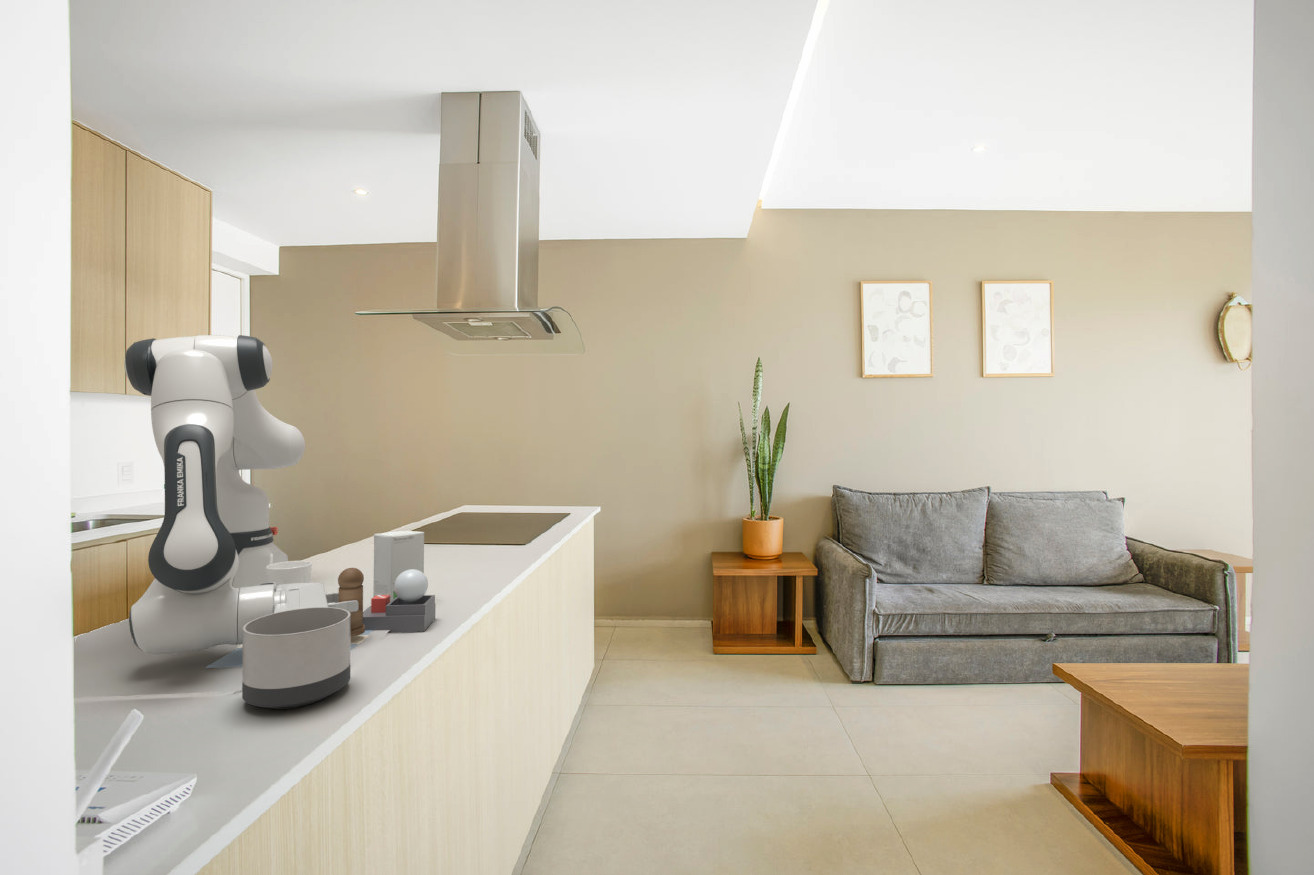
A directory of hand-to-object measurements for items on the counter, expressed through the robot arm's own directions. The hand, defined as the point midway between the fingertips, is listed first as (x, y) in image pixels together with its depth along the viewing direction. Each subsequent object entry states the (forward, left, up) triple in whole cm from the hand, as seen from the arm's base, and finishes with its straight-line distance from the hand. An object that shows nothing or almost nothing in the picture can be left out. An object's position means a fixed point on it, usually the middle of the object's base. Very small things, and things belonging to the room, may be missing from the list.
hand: (356, 601), depth 104 cm
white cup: (-19, -20, -7) cm, 28 cm away
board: (+3, -8, -7) cm, 11 cm away
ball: (-9, +7, -3) cm, 11 cm away
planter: (+21, 0, -7) cm, 23 cm away
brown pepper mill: (0, -1, -5) cm, 5 cm away
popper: (-9, +4, -7) cm, 12 cm away
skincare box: (-23, 0, -7) cm, 24 cm away
